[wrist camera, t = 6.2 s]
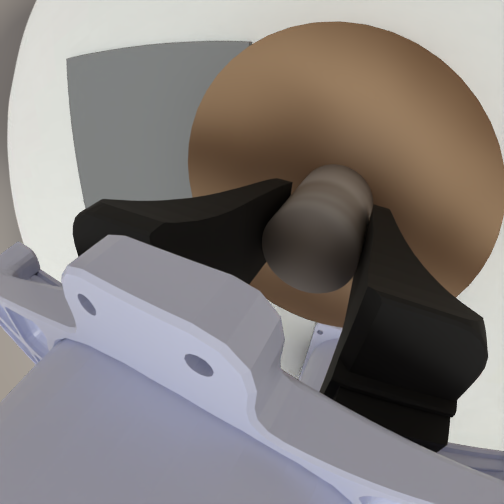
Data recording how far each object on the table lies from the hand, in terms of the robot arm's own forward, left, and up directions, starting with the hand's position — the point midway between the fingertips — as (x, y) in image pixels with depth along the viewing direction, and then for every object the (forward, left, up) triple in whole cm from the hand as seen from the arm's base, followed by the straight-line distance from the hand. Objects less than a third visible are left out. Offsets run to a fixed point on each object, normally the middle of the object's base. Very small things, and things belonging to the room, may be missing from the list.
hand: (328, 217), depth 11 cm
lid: (0, 0, -2) cm, 2 cm away
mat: (-3, +16, -8) cm, 18 cm away
